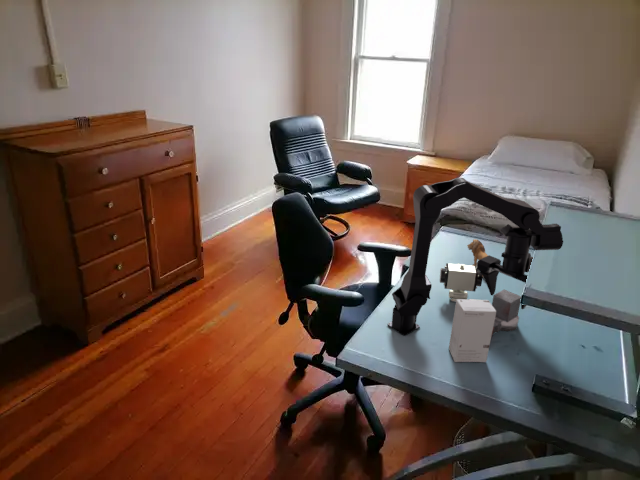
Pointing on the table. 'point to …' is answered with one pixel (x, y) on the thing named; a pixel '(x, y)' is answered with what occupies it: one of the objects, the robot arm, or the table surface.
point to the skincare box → (471, 330)
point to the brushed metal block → (506, 305)
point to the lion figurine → (477, 251)
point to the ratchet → (505, 325)
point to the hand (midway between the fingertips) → (507, 301)
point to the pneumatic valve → (460, 280)
